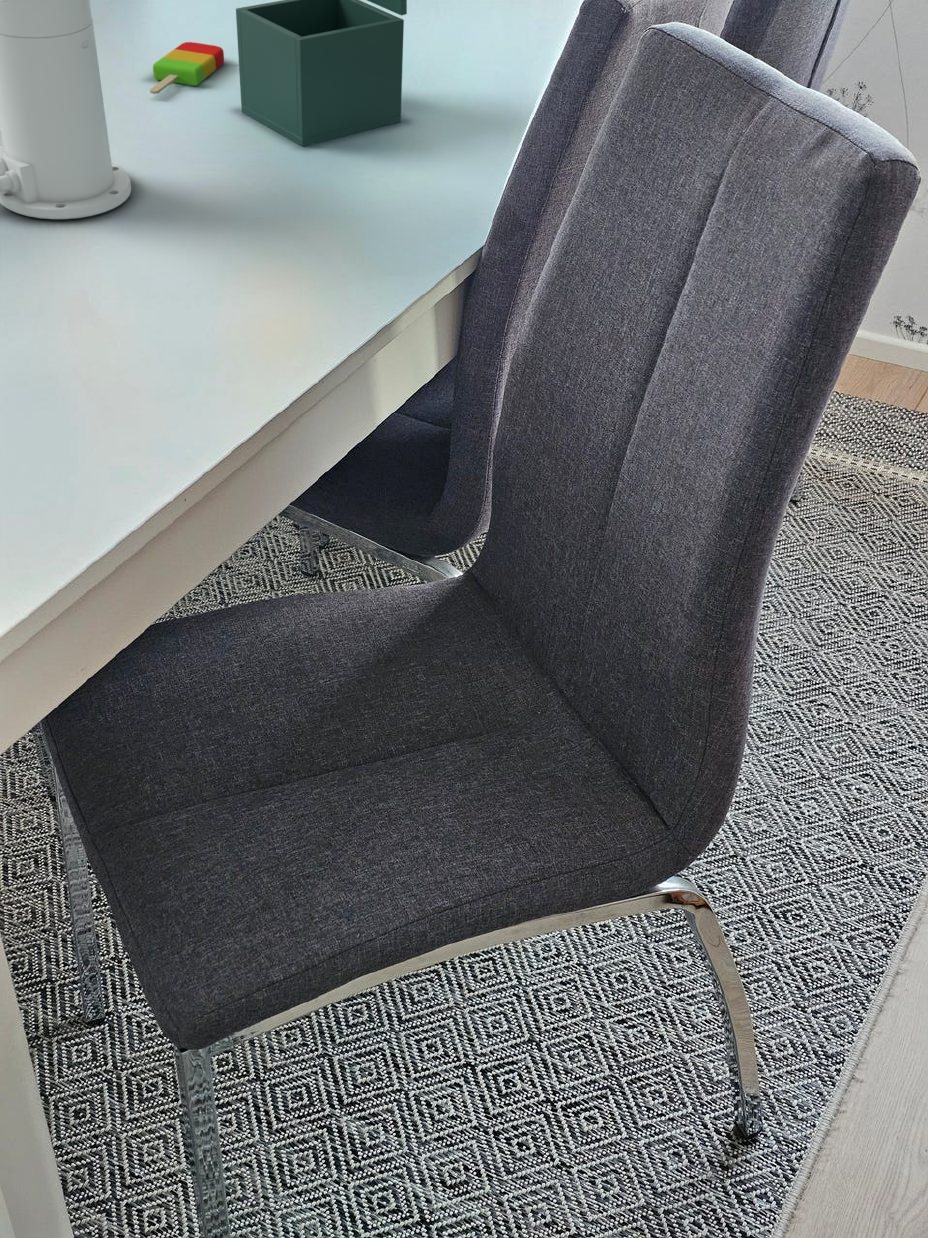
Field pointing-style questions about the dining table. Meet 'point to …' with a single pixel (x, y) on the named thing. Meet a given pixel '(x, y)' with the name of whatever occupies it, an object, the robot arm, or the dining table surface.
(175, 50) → the popsicle
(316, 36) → the cool box
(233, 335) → the dining table surface
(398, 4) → the cool box lid
